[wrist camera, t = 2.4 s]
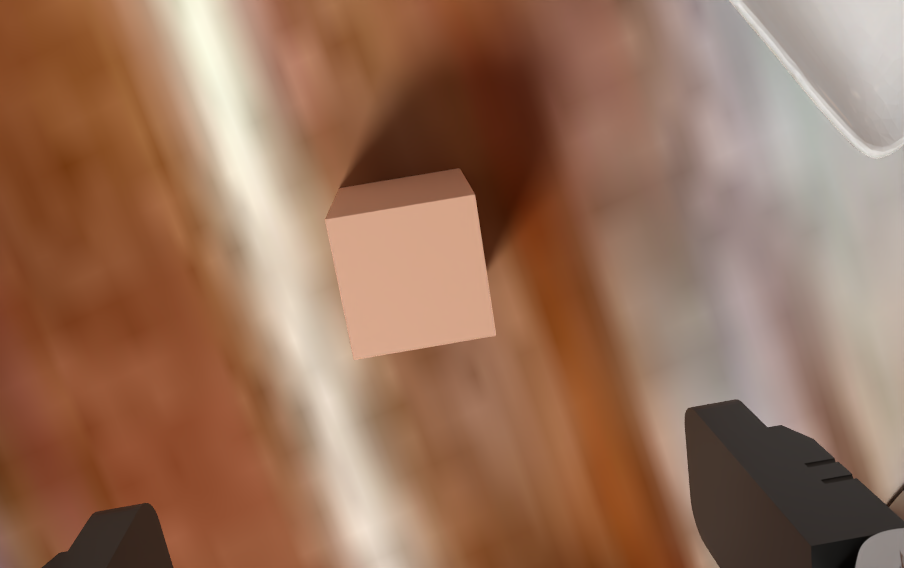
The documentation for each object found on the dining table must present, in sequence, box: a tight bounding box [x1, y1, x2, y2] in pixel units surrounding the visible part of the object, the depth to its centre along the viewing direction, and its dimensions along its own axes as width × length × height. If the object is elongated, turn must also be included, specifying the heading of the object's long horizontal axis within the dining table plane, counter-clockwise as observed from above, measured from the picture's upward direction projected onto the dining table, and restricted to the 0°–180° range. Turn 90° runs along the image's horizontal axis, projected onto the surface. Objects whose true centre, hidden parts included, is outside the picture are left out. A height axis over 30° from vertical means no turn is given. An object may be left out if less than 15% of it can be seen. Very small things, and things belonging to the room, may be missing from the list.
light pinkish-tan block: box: [325, 168, 496, 360], centre depth 27 cm, size 4×4×6 cm
